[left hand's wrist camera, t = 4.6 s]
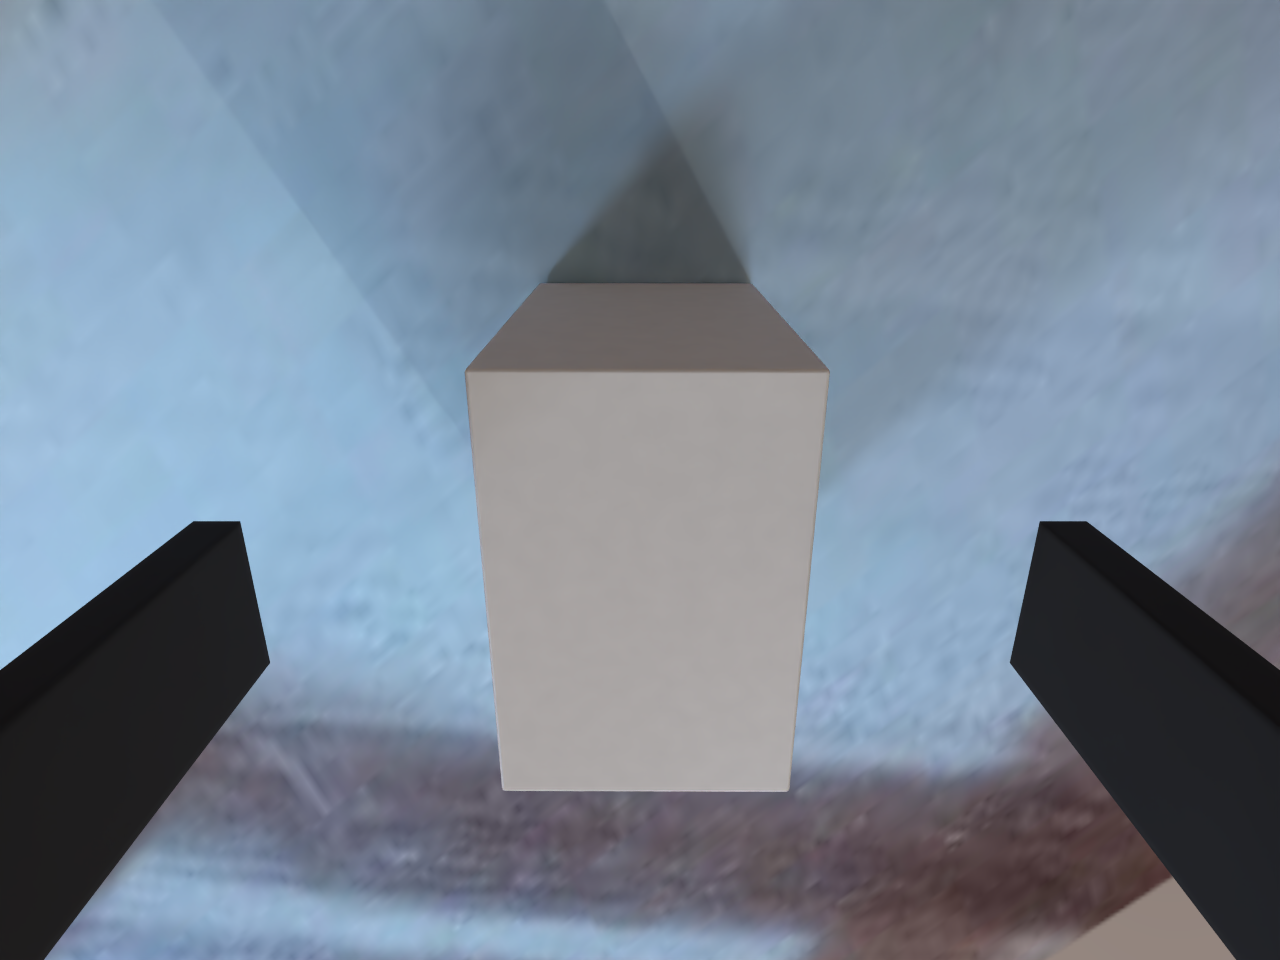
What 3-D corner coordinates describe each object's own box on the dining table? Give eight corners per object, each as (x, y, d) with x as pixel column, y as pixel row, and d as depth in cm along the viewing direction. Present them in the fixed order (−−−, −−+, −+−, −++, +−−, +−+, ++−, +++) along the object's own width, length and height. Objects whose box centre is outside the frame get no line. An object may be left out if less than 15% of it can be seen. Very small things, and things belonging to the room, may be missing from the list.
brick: (553, 565, 21) (501, 791, 13) (538, 282, 18) (463, 368, 10) (737, 566, 21) (789, 793, 13) (752, 283, 18) (830, 369, 10)
